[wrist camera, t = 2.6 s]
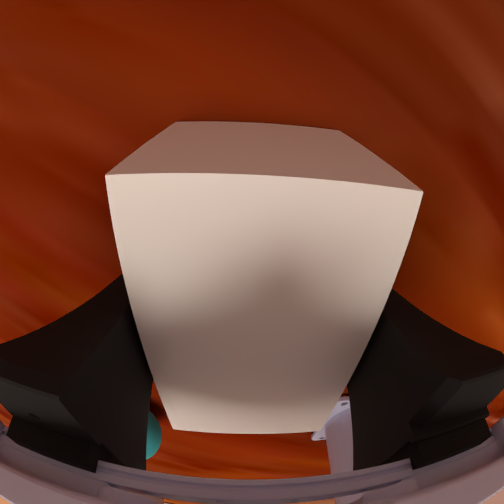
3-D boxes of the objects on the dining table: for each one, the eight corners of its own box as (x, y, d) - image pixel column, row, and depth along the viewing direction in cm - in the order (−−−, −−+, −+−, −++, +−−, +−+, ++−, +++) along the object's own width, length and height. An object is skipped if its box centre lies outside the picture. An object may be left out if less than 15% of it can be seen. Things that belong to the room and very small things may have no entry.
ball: (159, 395, 19) (149, 455, 15) (170, 422, 22) (163, 473, 18) (98, 385, 19) (82, 440, 15) (117, 414, 22) (105, 462, 18)
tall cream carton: (339, 130, 10) (423, 191, 5) (302, 327, 16) (320, 430, 10) (175, 121, 10) (104, 175, 5) (189, 324, 15) (173, 429, 10)
